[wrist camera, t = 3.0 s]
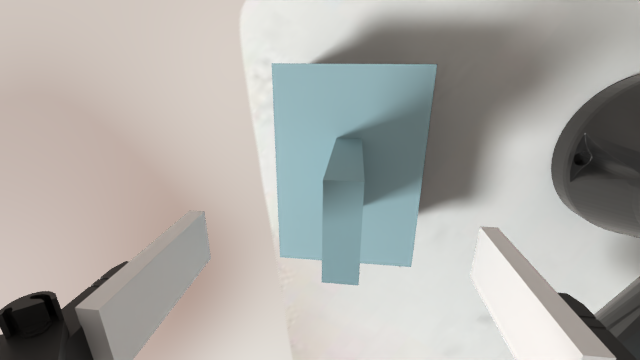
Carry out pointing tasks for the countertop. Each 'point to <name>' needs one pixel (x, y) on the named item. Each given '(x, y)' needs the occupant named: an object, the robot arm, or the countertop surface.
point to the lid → (350, 162)
